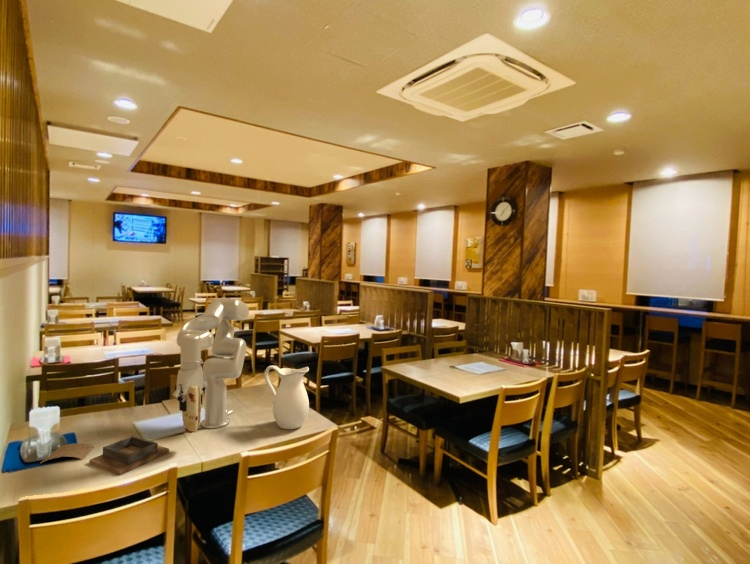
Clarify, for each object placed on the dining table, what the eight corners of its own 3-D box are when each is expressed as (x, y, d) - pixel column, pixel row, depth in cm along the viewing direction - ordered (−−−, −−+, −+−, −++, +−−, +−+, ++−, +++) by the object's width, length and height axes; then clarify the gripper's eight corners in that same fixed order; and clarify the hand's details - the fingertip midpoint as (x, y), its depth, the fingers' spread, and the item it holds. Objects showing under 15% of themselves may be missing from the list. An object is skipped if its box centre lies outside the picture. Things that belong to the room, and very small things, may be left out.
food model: (178, 428, 167) (178, 381, 166) (195, 424, 172) (195, 378, 170) (186, 436, 160) (186, 387, 159) (204, 432, 165) (204, 384, 163)
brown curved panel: (95, 447, 166) (95, 440, 166) (86, 460, 156) (86, 453, 156) (48, 453, 161) (47, 445, 161) (35, 467, 150) (35, 459, 150)
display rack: (139, 442, 171) (139, 431, 171) (169, 452, 163) (169, 440, 163) (89, 463, 153) (89, 450, 152) (120, 475, 145) (120, 461, 145)
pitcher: (315, 422, 198) (316, 366, 197) (294, 435, 183) (295, 374, 182) (276, 413, 208) (277, 360, 207) (253, 424, 193) (254, 367, 192)
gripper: (201, 358, 173) (201, 398, 175) (165, 368, 158) (165, 413, 159) (214, 361, 170) (214, 402, 172) (179, 371, 154) (179, 416, 156)
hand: (191, 407), depth 165 cm, fingers closed on food model, 7 cm apart
